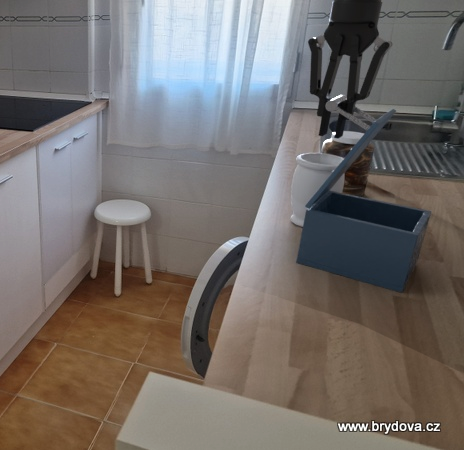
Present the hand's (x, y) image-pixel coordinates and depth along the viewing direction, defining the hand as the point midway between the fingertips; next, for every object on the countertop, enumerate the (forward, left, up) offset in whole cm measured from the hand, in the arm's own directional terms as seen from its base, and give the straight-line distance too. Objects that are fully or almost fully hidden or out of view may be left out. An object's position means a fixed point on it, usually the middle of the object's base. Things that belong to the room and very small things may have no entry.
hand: (330, 135), depth 100 cm
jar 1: (+13, -8, -24) cm, 29 cm away
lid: (-3, -3, -4) cm, 6 cm away
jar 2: (+32, -27, -24) cm, 49 cm away
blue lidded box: (-7, -6, -24) cm, 25 cm away
